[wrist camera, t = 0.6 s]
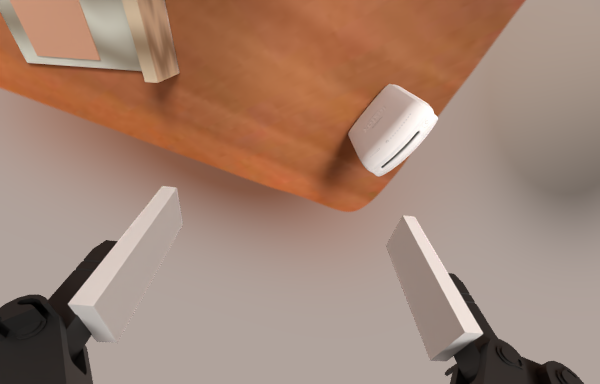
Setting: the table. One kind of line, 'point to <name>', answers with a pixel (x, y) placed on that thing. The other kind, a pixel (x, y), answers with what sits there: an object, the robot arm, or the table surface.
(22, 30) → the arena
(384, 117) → the photo printer
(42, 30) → the pad
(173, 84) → the table surface
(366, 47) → the table surface
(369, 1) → the table surface
